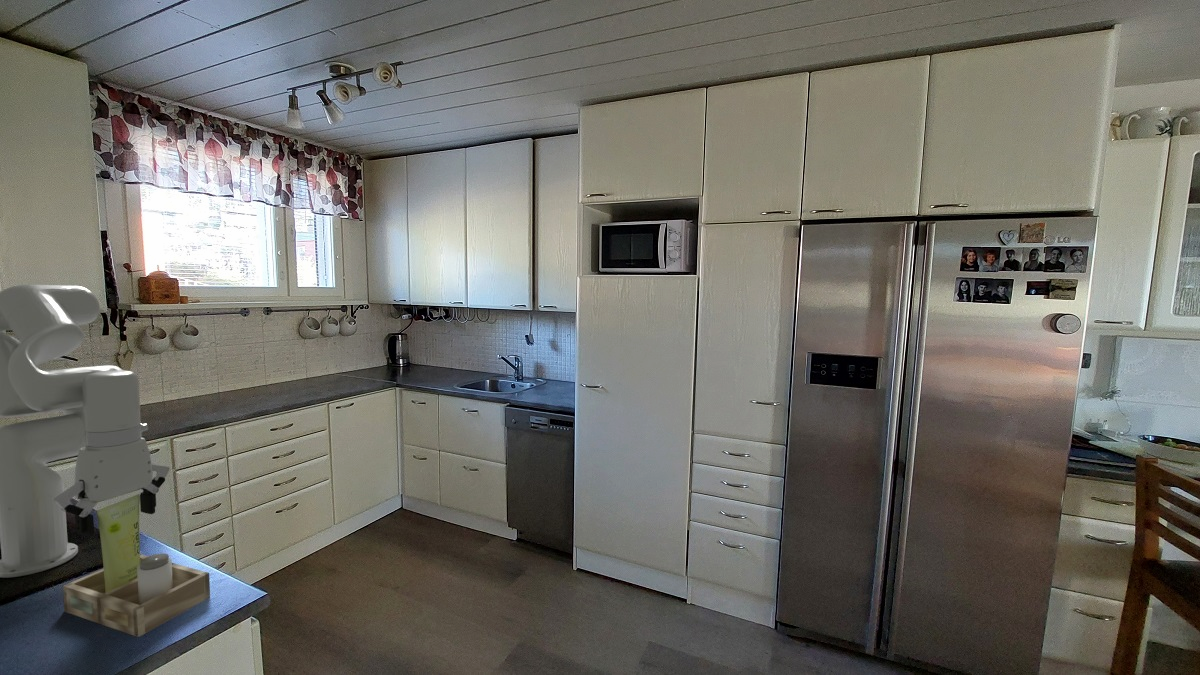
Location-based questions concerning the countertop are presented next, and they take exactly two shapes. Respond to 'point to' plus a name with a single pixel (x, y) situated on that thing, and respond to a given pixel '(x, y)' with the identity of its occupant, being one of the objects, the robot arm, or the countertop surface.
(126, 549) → the tube
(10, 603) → the countertop surface
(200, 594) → the box
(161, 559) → the jar
